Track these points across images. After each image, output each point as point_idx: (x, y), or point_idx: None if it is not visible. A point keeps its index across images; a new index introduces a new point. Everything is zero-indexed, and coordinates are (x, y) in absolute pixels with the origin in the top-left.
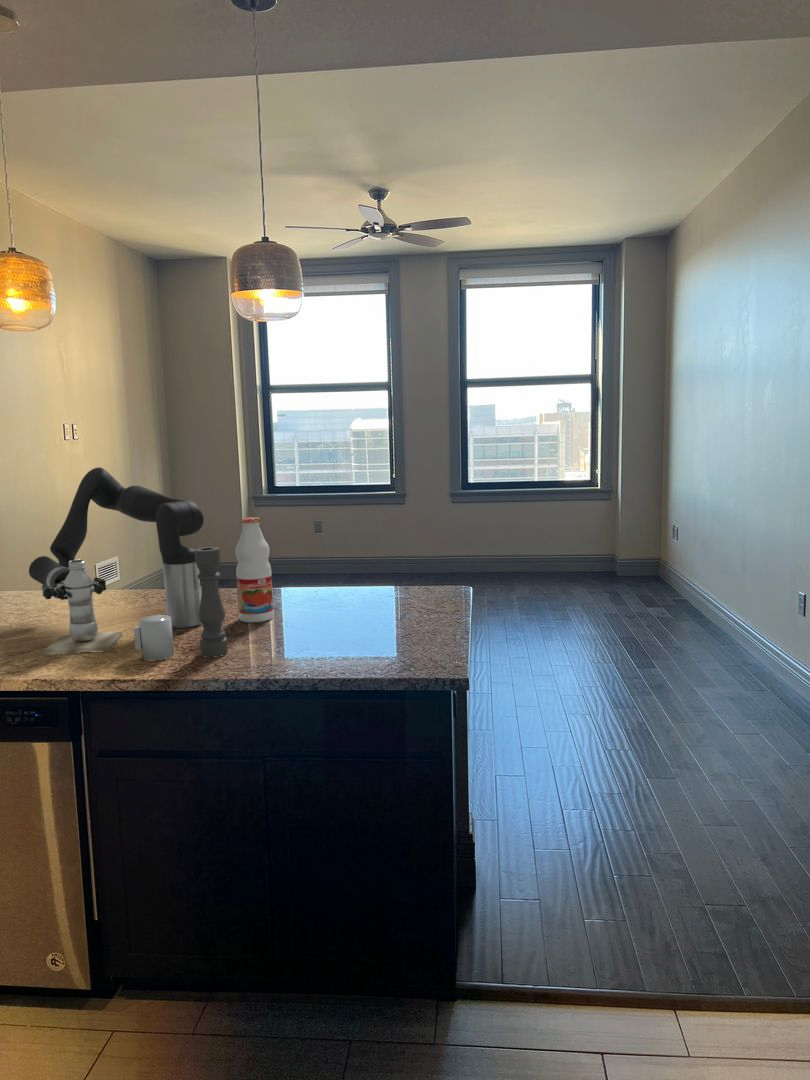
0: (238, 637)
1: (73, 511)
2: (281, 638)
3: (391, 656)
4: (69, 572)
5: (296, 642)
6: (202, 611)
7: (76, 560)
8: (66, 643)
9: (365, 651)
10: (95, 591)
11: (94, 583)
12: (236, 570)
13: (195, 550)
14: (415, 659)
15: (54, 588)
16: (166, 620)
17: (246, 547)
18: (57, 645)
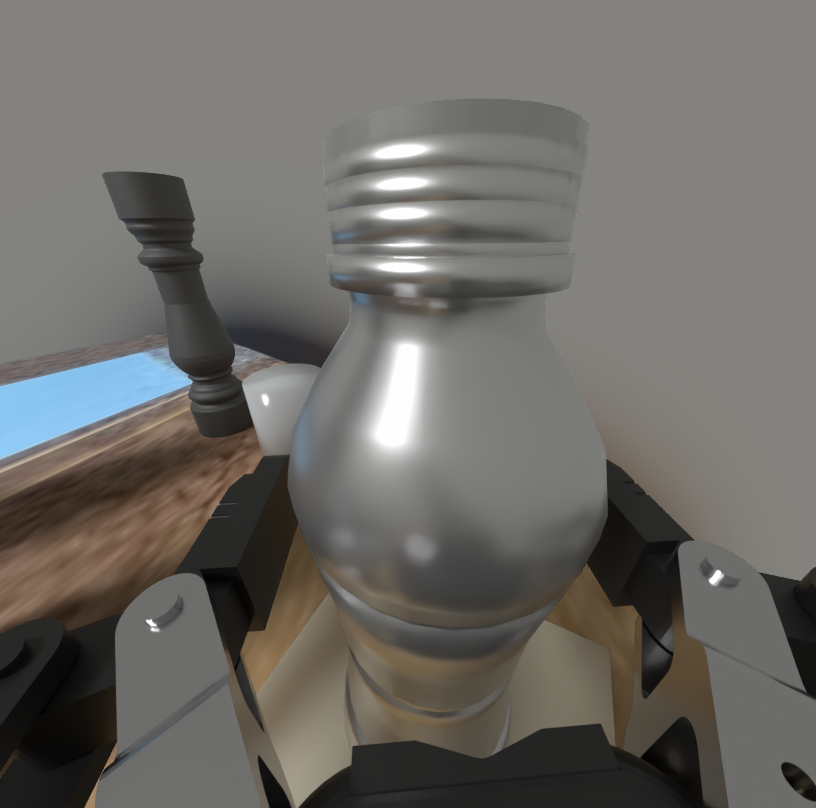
0: (84, 473)
1: None
2: (76, 431)
3: (145, 353)
4: (549, 338)
5: (104, 409)
6: (227, 334)
7: (436, 113)
8: (520, 723)
9: (132, 365)
10: (274, 580)
11: (228, 565)
12: None
13: (175, 177)
14: (149, 345)
15: (732, 557)
16: (278, 365)
17: None
18: (565, 714)
